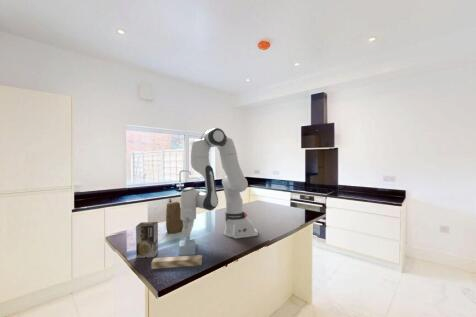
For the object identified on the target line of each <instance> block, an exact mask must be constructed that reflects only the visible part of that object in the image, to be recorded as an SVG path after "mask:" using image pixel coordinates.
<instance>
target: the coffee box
mask: <svg viewBox="0 0 476 317" xmlns="http://www.w3.org/2000/svg"><path fill="white" fill-rule="evenodd" d="M158 223H159V222H158V221H148V222H143V221H142V222H139V223H138V224H137V225H136V226H135V237H136V238H135V243H136V245H135V246H136V247H135V250H136V254H135V255H136V256H135V257H136V259H141V258H142V259H143V258H144V259H145V257H147V258H156V256H157V254H158V253H159V233H158V232H159V230H158V228H159V224H158Z"/></svg>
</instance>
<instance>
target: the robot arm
mask: <svg viewBox="0 0 476 317" xmlns="http://www.w3.org/2000/svg"><path fill="white" fill-rule="evenodd" d="M233 140H234V139H232V138H230V137H228V136H227V135H226V134H225V132H224V130H223V129H221V128H218V127H213V128H211V129H208V130H207V131H205V132H204V133H203V134H202V135H201V137H200V138H199V139H194V141H193V142H192V144H191V150H190V164H191V168H192V169H193V170H194V171H196V172H197V173H198V174H200V175H201V176H202V177H203V179H204V184H205V191H204V192H203V191H199V190H198V189H196V188H195V187H194V186H190V187H185V188H182V190H181V191H180V208H181V217H180V219H181V220H183V230H182V238H185V240H191V234H192V231H193V227H194V223H195V220H196V219H197V208H198V209H203V210H206V211H214V210H215V209H216V207H217V206H218V205H219V197H218V194H217V188H216V181H215V180H216V179H215V174H214V173H215V172H214V169H213V167H212V166H211V163H210V150H211V148H214V147H216V148H217V149H218V152H219V158H220V162H221V166H222V169H223V171H224V173H225V176H223V177H222V180H221V184H222V187H223V190H224V196H225V197H224V198H225V212H224V219H225V224H224V231H223V235H224V236H226V237H228V238H229V237H230V238H233V239H241V238H250V237H256V236H258V235H259V232H258V230H257V229H256V228H255V225H254V224H253V222H252V221H251V220H250V219H249V218H247V217H248V214H247V212H244V210H243V209H244V208H243V198H242V196H241V193H243V192H244V191H246V190H247V188H248V185H249V184H248V183H249V182H248V180H247V178H246V177H245V176H244V172H243V170H242V169H241V166H240V163H239V160H238V154H237V148H236V146H235V143H234V141H233Z"/></svg>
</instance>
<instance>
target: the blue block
mask: <svg viewBox="0 0 476 317" xmlns="http://www.w3.org/2000/svg"><path fill="white" fill-rule="evenodd" d="M178 247H179V248H178V249H179V250H178V255H179V256H193V255H196V239H194V238H193V239H190V240H186V239H182V240H179V246H178Z"/></svg>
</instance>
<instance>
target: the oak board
mask: <svg viewBox="0 0 476 317" xmlns="http://www.w3.org/2000/svg"><path fill="white" fill-rule="evenodd" d="M202 262H203V255H202V254H197V255H196V254H193V255H183V256H168V257H167V256H165V257H164V256H162V257H153V259H152V261H151V270H157V269H171V268H182V267H195V266H197V267H198V266H202Z"/></svg>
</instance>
